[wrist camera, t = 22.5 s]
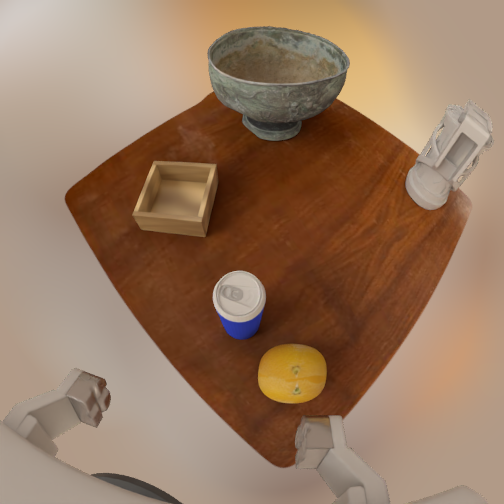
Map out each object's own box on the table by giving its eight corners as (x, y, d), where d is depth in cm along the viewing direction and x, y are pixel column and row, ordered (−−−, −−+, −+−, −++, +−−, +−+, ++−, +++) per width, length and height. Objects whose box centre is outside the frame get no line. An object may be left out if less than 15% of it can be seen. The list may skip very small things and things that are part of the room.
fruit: (261, 406, 35) (265, 413, 28) (252, 352, 38) (253, 346, 31) (322, 393, 36) (339, 397, 29) (312, 341, 39) (327, 332, 32)
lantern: (411, 165, 55) (459, 81, 32) (446, 192, 52) (503, 117, 29) (393, 197, 50) (452, 101, 28) (432, 228, 48) (505, 146, 25)
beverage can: (262, 309, 41) (271, 274, 27) (255, 343, 39) (260, 325, 25) (228, 301, 41) (219, 263, 28) (220, 335, 39) (205, 313, 26)
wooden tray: (205, 237, 46) (201, 222, 41) (141, 229, 46) (132, 215, 42) (218, 181, 51) (216, 164, 46) (160, 177, 51) (154, 160, 47)
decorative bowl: (297, 84, 65) (304, 20, 47) (354, 146, 56) (380, 73, 37) (201, 107, 61) (189, 37, 43) (241, 181, 52) (236, 95, 34)
